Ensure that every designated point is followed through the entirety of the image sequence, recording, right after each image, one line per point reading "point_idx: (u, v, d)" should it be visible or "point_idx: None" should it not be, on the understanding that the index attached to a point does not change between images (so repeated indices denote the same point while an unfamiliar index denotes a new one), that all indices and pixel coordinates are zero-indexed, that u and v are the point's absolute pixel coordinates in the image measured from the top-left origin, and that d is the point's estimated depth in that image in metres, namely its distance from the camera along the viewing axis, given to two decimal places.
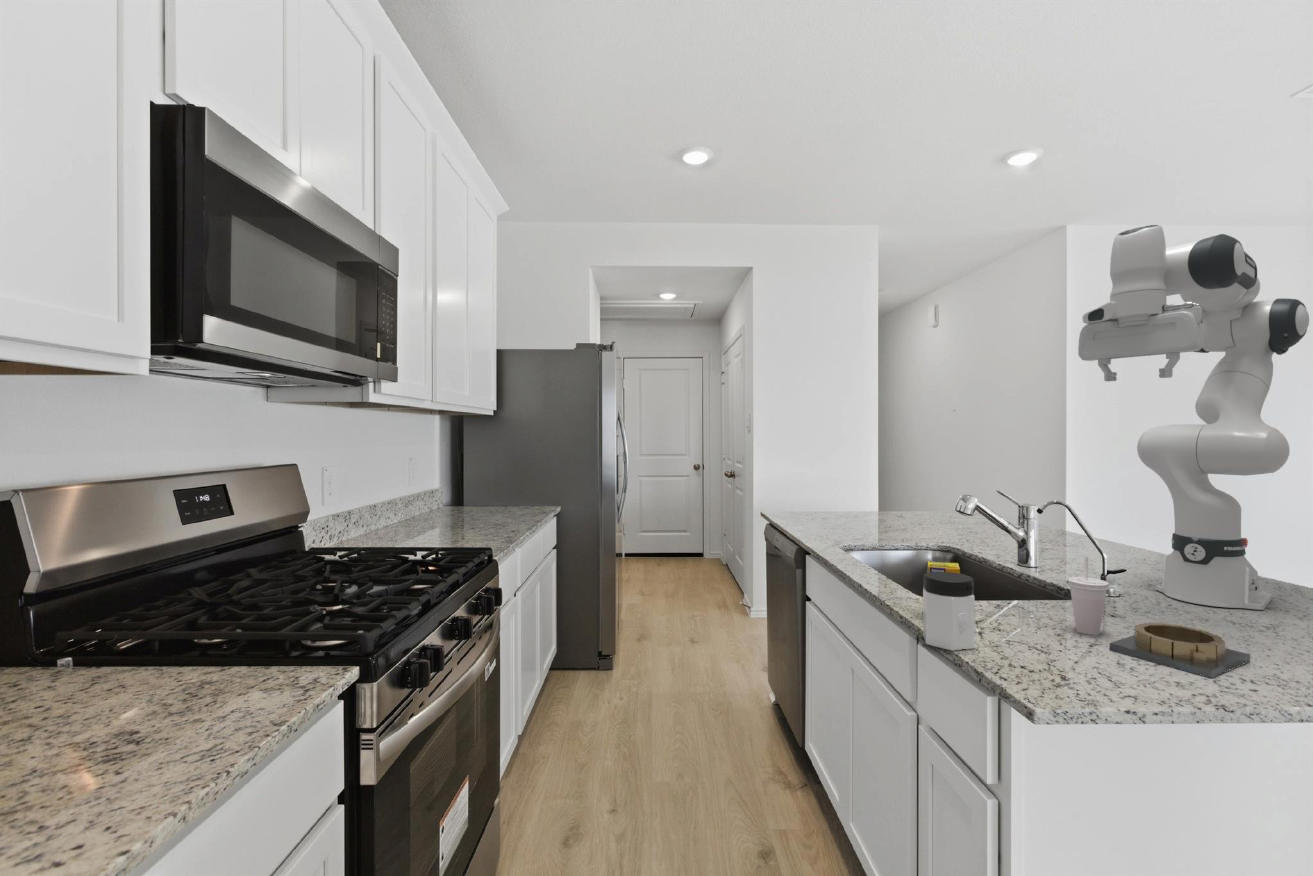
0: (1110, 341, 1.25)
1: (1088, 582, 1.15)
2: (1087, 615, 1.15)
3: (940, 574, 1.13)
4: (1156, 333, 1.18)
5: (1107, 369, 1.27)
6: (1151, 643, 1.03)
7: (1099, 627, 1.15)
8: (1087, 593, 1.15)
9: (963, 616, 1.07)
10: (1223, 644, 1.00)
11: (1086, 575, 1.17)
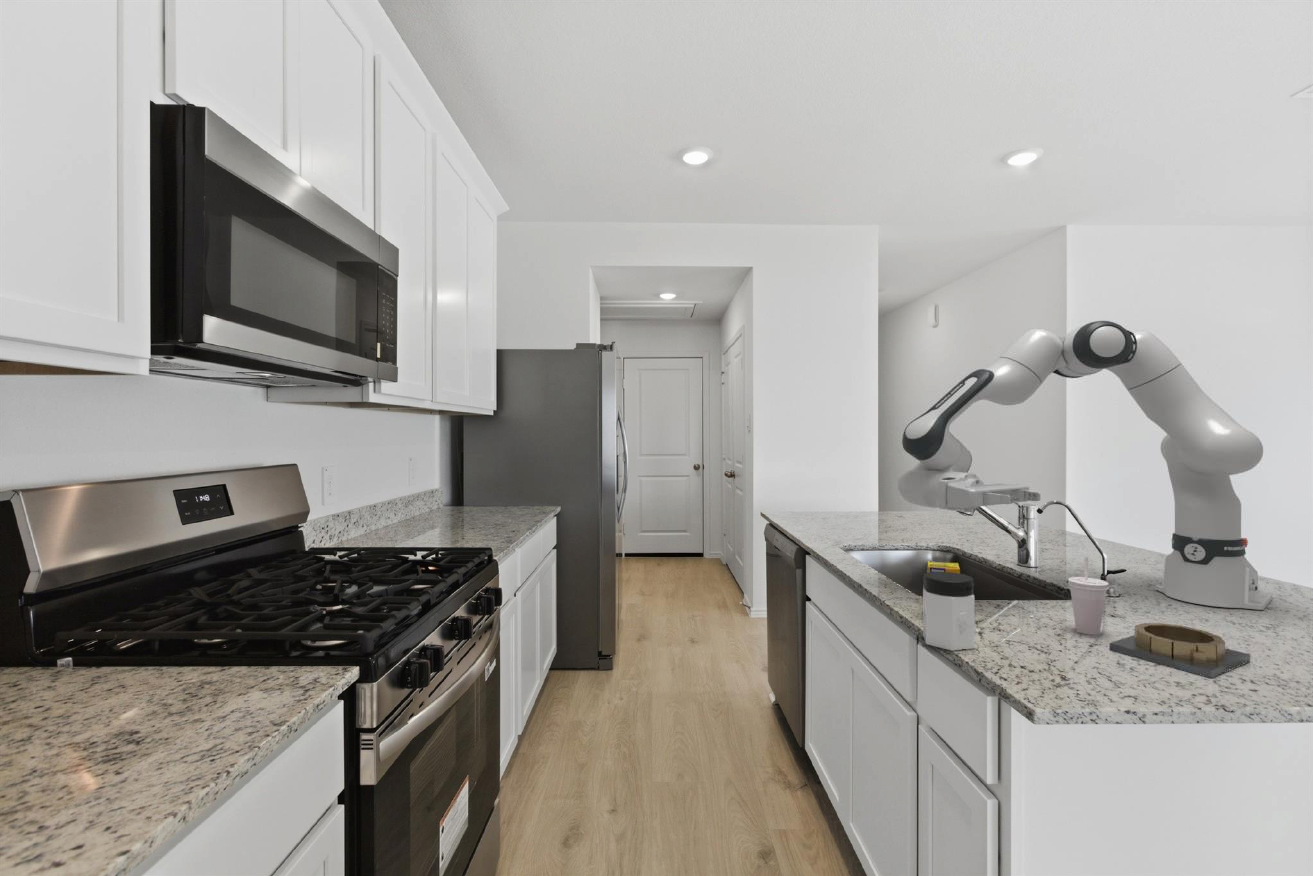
0: (977, 487, 1.32)
1: (1088, 582, 1.15)
2: (1087, 615, 1.15)
3: (940, 574, 1.13)
4: (997, 485, 1.36)
5: None
6: (1151, 643, 1.03)
7: (1099, 627, 1.15)
8: (1087, 593, 1.15)
9: (963, 616, 1.07)
10: (1223, 644, 1.00)
11: (1086, 575, 1.17)
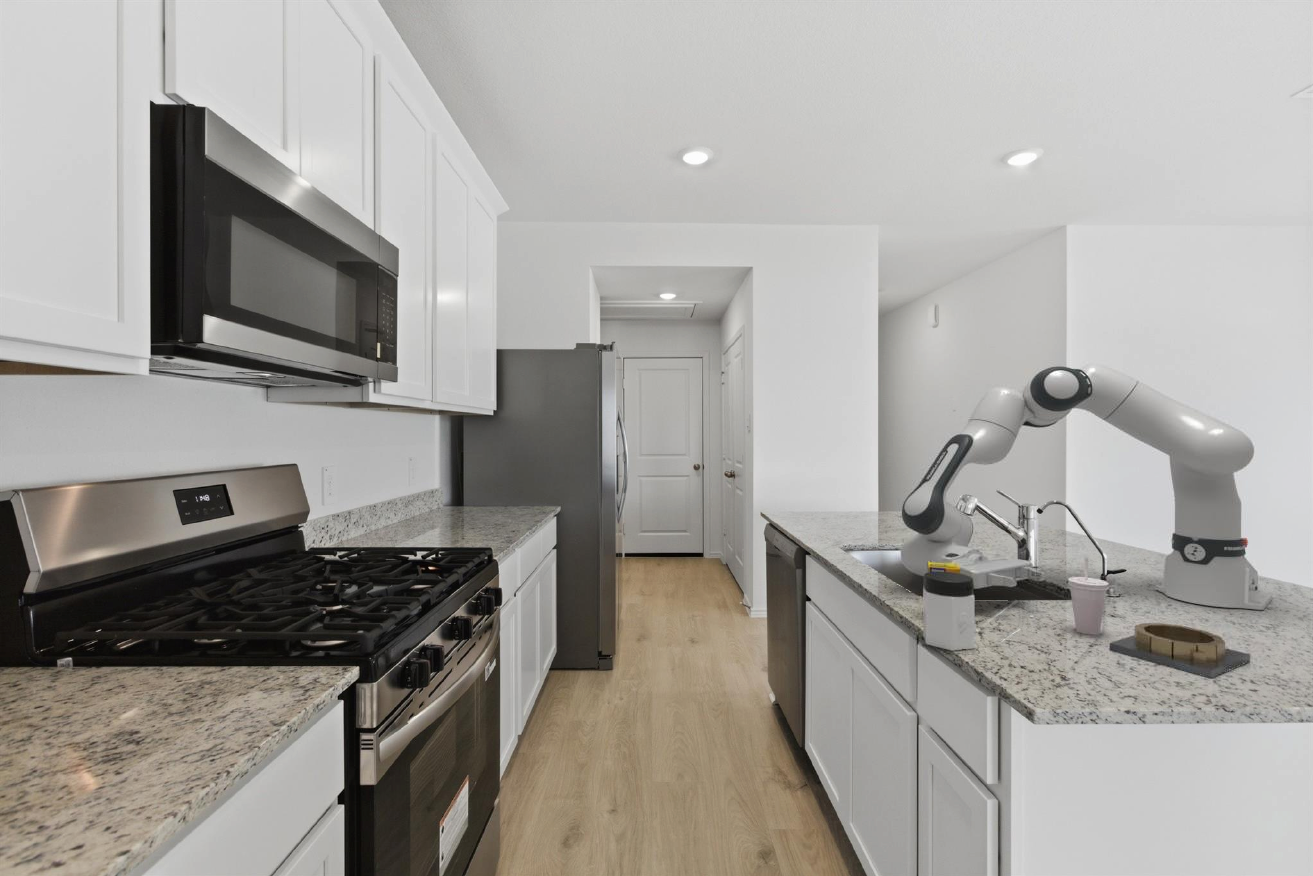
0: (980, 565, 1.32)
1: (1088, 582, 1.15)
2: (1087, 615, 1.15)
3: (940, 574, 1.13)
4: (1000, 561, 1.36)
5: None
6: (1151, 643, 1.03)
7: (1099, 627, 1.15)
8: (1087, 593, 1.15)
9: (963, 616, 1.07)
10: (1223, 644, 1.00)
11: (1086, 575, 1.17)
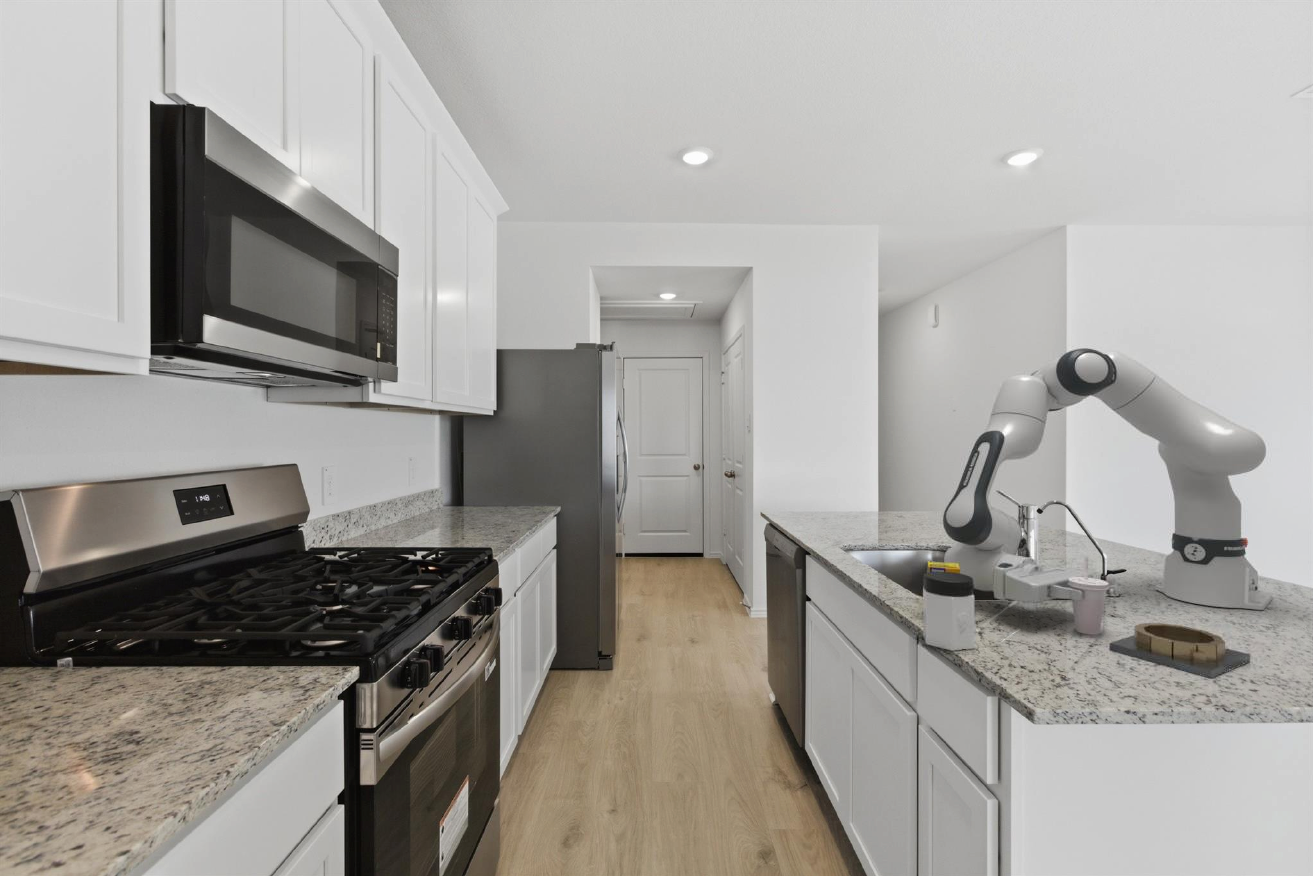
0: (1038, 577, 1.21)
1: (1088, 582, 1.15)
2: (1087, 615, 1.15)
3: (940, 574, 1.13)
4: (1058, 572, 1.25)
5: None
6: (1151, 643, 1.03)
7: (1099, 627, 1.15)
8: (1087, 593, 1.15)
9: (963, 616, 1.07)
10: (1223, 644, 1.00)
11: (1086, 575, 1.17)
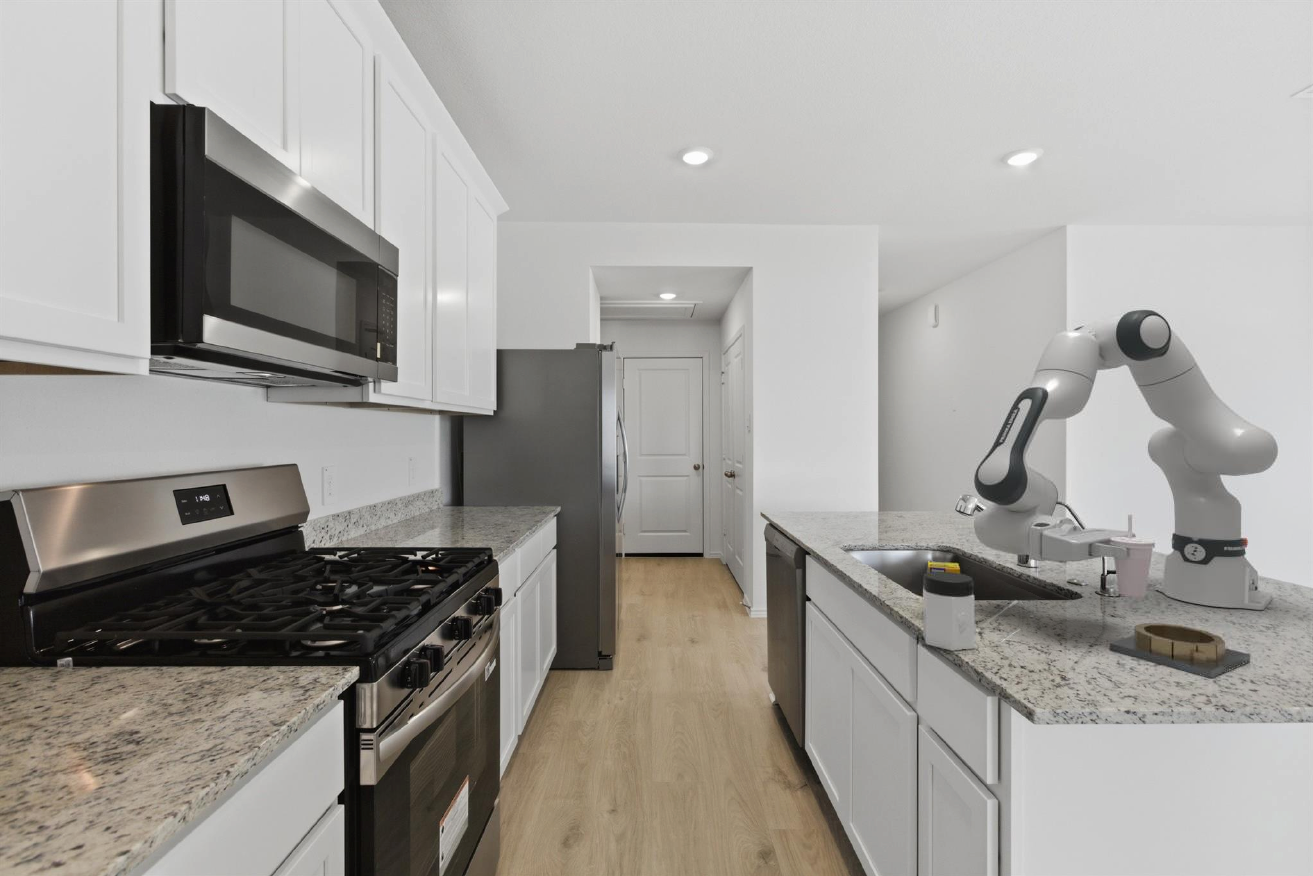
0: (1077, 536, 1.14)
1: (1132, 541, 1.08)
2: (1131, 576, 1.08)
3: (940, 574, 1.13)
4: (1097, 532, 1.18)
5: None
6: (1151, 643, 1.03)
7: (1145, 588, 1.08)
8: (1132, 552, 1.08)
9: (963, 616, 1.07)
10: (1223, 644, 1.00)
11: (1130, 534, 1.10)
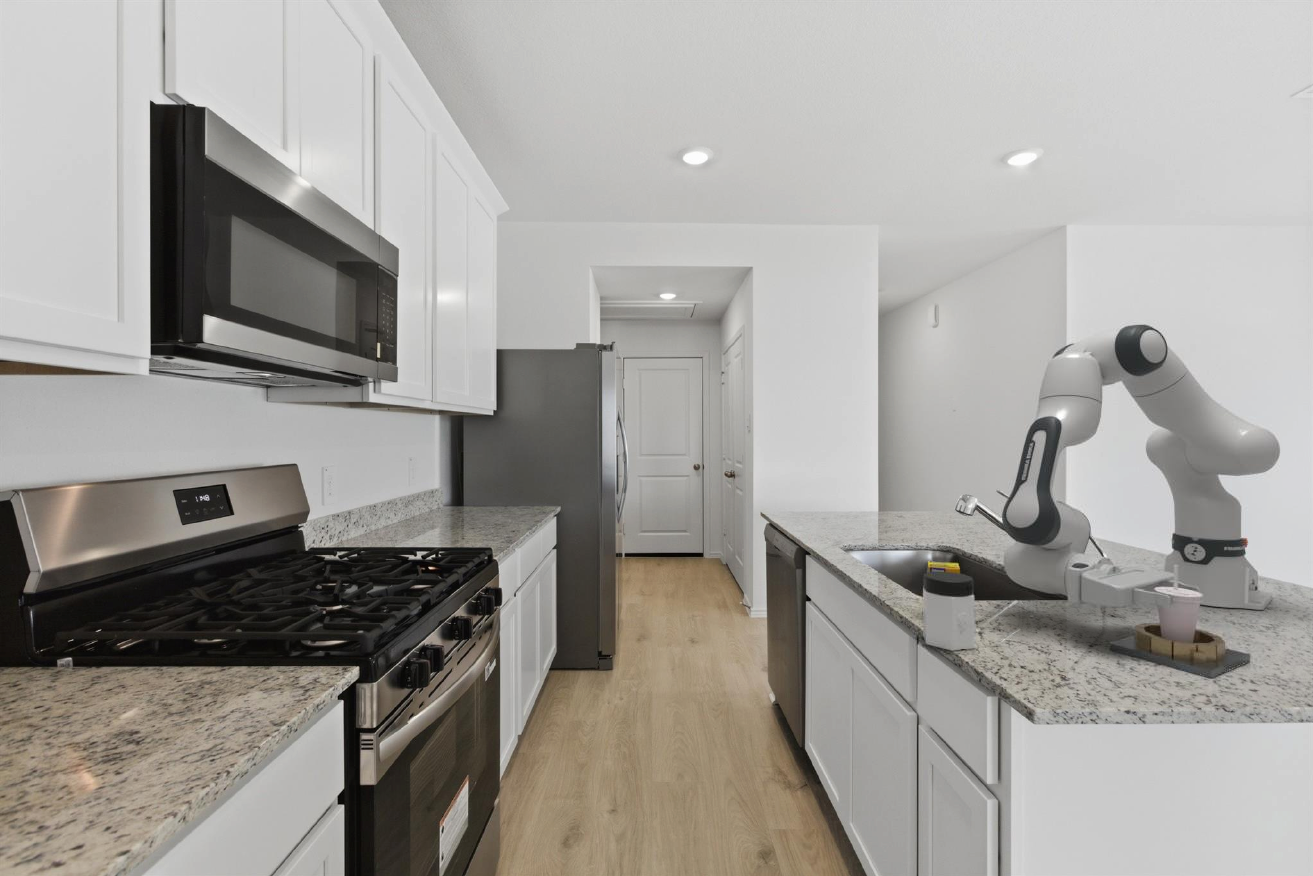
0: (1119, 579, 1.09)
1: (1179, 593, 1.03)
2: (1178, 630, 1.03)
3: (940, 574, 1.13)
4: (1138, 573, 1.13)
5: None
6: (1151, 643, 1.03)
7: None
8: (1179, 605, 1.02)
9: (963, 616, 1.07)
10: (1223, 644, 1.00)
11: (1176, 585, 1.05)
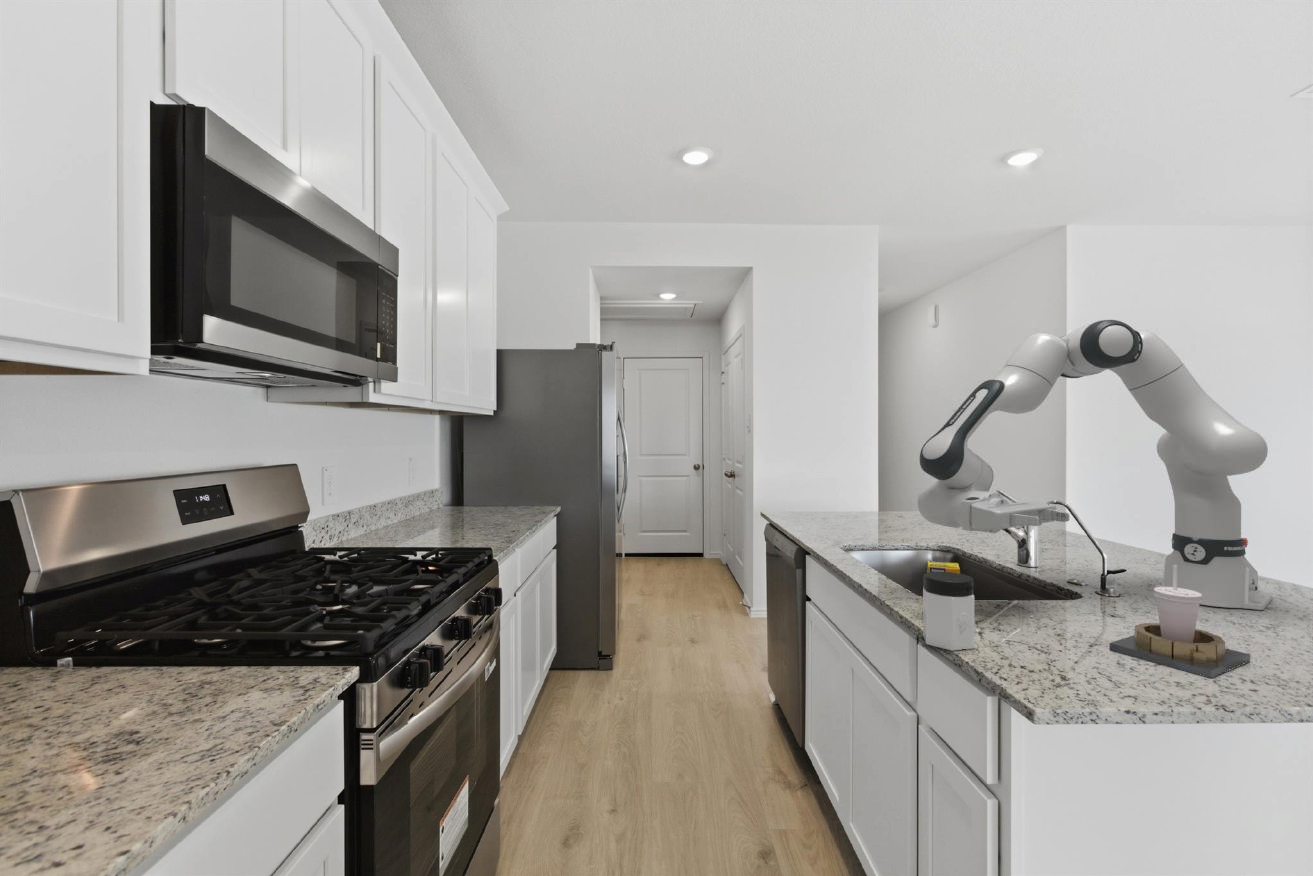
0: (1002, 507, 1.27)
1: (1179, 593, 1.03)
2: (1177, 630, 1.03)
3: (940, 574, 1.13)
4: None
5: None
6: (1151, 643, 1.03)
7: None
8: (1179, 606, 1.02)
9: (963, 616, 1.07)
10: (1223, 644, 1.00)
11: (1175, 585, 1.05)
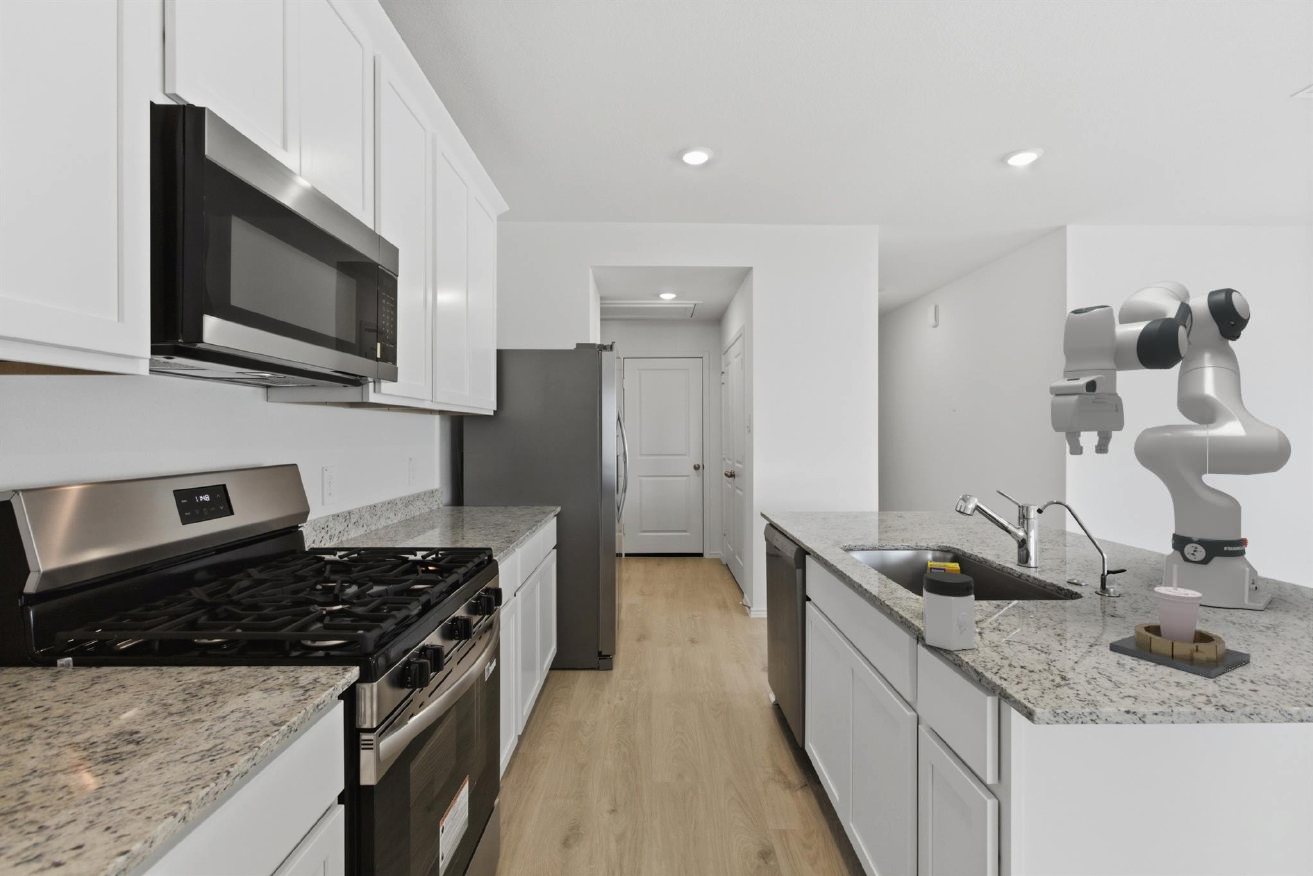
0: (1088, 415, 1.22)
1: (1179, 593, 1.03)
2: (1177, 630, 1.03)
3: (940, 574, 1.13)
4: (1108, 412, 1.26)
5: None
6: (1151, 643, 1.03)
7: None
8: (1179, 605, 1.02)
9: (963, 616, 1.07)
10: (1223, 644, 1.00)
11: (1175, 585, 1.05)
